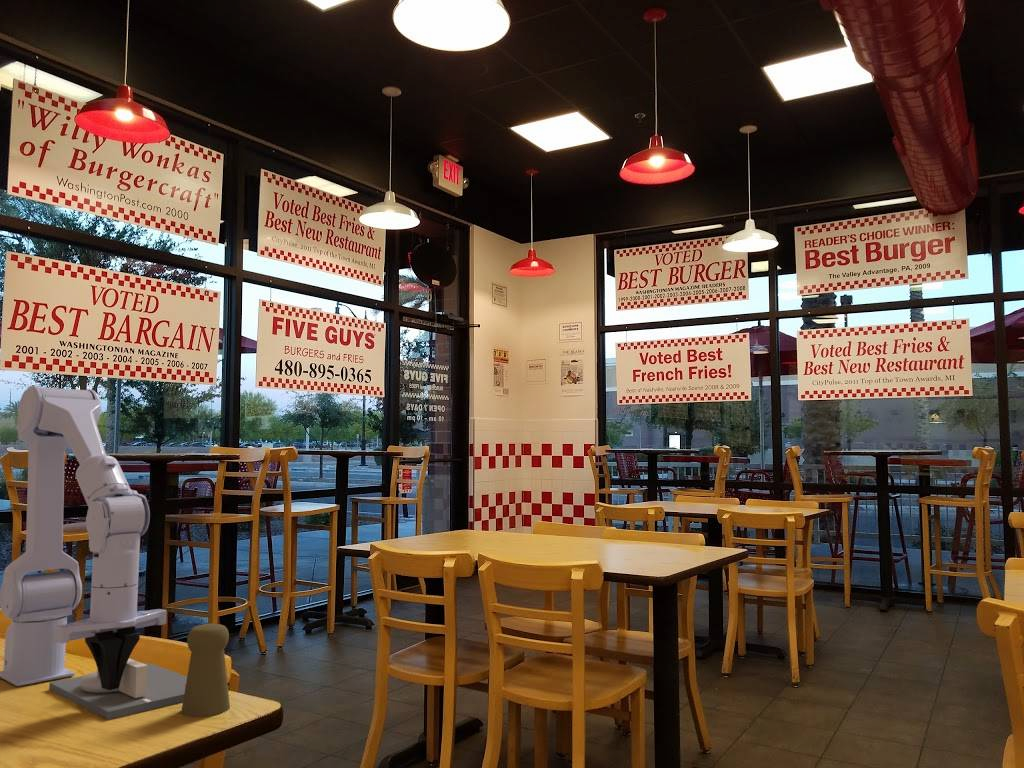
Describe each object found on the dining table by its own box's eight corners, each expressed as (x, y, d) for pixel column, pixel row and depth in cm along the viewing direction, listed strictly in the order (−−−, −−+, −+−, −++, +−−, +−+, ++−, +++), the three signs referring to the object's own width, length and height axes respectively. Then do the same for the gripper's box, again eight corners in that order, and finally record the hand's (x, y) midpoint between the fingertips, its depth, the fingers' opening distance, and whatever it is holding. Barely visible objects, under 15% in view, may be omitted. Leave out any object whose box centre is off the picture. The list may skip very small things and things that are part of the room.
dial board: (49, 689, 114) (49, 681, 114) (149, 669, 125) (150, 662, 125) (107, 719, 101) (108, 710, 101) (214, 694, 112) (214, 686, 112)
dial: (71, 685, 112) (72, 654, 113) (128, 673, 118) (130, 644, 119) (110, 703, 104) (111, 670, 104) (170, 690, 110) (171, 659, 110)
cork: (213, 718, 102) (216, 630, 103) (171, 715, 103) (174, 628, 104) (238, 704, 108) (241, 621, 109) (198, 701, 109) (201, 619, 110)
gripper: (76, 595, 100) (70, 707, 99) (180, 580, 112) (176, 680, 111) (48, 590, 104) (42, 697, 103) (151, 576, 116) (147, 672, 115)
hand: (110, 687), depth 107 cm, fingers closed
